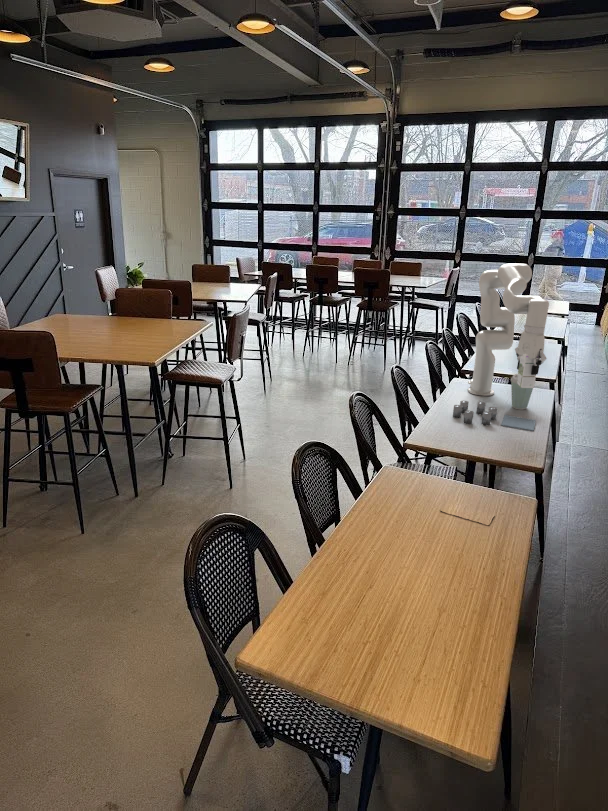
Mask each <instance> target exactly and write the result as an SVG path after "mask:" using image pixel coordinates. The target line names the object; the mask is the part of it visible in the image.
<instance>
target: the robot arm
mask: <svg viewBox="0 0 608 811" xmlns="http://www.w3.org/2000/svg"><path fill="white" fill-rule="evenodd" d="M532 277H533V270H532V267H530V265H529V264H527V263H506V264H505V263H504V264H502V265H501V266H499V268H498V269H489V270H485V271H483V272H482V273H481V275H480V276H479V279H478V287H479V288H478V289H479V293H480V300H481V301H480V313H479V315H480V316H479V319H480V320H479V322H480V324H481V326H482V327H484V328H501V329H485V330H480V331H479V332H477V334H476V335H475V358H474V365H473V366H474V367H473V371H472V372H473V373H472V379H470V380H468V382H467V384H469V385H470V387H468V388H467V392H468V393H469V394H473V395H475V396H481V397H487V396H493V395H494V394H495V390H493V389H492V385H493V380H494V379H493V378H494V372H495V367H496V356H495V354H494V353H493V351H495V350H497V351H506V350H510V349H511V348H512V347H513V344H514V337H515V335H514V334H515V321H516V318H515V317H516V316H515V315H526V318H525V323H524V325H523V328H524V329H523V330H524V331H522V332H521V335H520V337H519V341H518V344H517V347H515V348H514V351H515V353H516V354H515V355H516V357H517V358H516V359H517V365H516V370H518V369H519V362H520V356H523V354H528V358H529V359H533V363H534V365H533V366H532V371H531V375H536V376H537V375H538V374H539V369H540V366H541V365H542V364H544V362H545V361H546V360H547V359H548V358H547V356H546V354H545V353H544V351H545V342H546V341H545V328H546V324H547V319H548V312H549V306H550V302H549V300H547V299H544V298H542V297H541V296H539V295H521V294H522V293H524V291H525V290H526V289H527V285H528V283H529V282H530V280H531V279H532ZM496 289H501V290H502V289H503V290H504V291H503V293H502V302H503V305H504V306H502V307H500V301H501V299H500V297H501V296H500V294H499V293H498V291H497V290H496ZM538 355H539V357H538V358H537V356H538ZM537 359H538V360H537ZM536 360H537V362H536Z"/></svg>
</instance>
